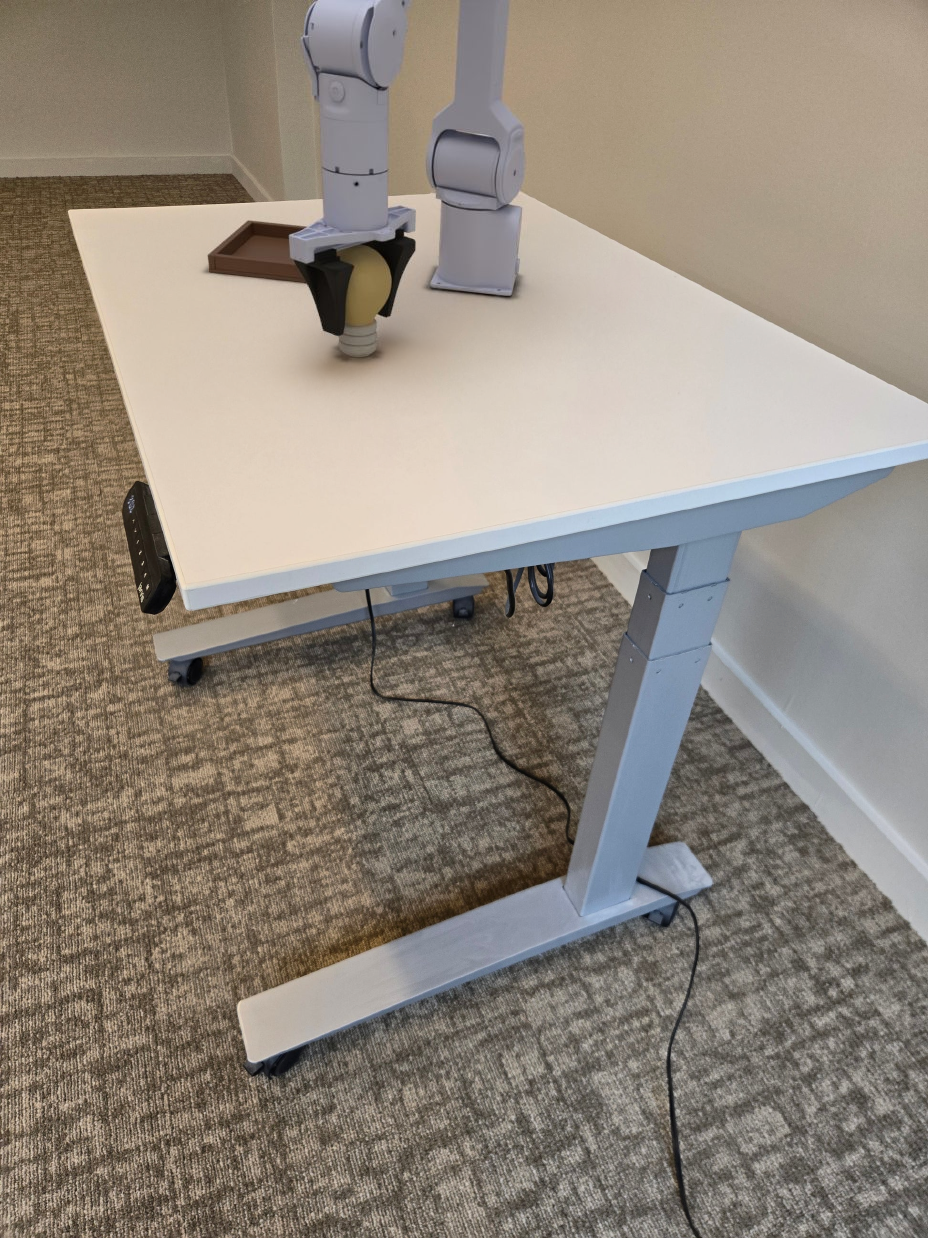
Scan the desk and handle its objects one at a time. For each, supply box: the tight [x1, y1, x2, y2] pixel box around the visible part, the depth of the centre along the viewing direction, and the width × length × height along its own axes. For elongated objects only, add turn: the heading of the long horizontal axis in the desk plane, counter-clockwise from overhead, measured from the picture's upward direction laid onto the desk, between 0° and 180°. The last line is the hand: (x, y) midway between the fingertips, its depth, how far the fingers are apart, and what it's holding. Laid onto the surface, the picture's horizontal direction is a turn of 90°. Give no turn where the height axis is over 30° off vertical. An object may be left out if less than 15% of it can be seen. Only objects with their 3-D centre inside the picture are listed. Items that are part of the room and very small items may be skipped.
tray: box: [207, 220, 361, 283], centre depth 104 cm, size 17×15×2 cm
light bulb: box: [337, 245, 392, 358], centre depth 82 cm, size 6×6×10 cm
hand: (357, 323), depth 83 cm, fingers closed on light bulb, 6 cm apart
